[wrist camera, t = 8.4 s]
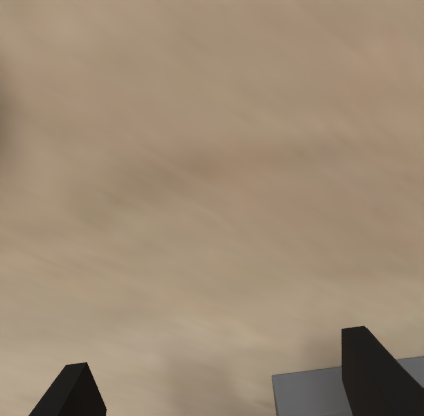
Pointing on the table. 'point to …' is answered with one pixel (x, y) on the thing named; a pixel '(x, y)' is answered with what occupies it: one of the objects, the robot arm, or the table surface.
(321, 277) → the table surface
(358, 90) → the table surface
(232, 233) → the table surface
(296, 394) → the charcoal plinth
